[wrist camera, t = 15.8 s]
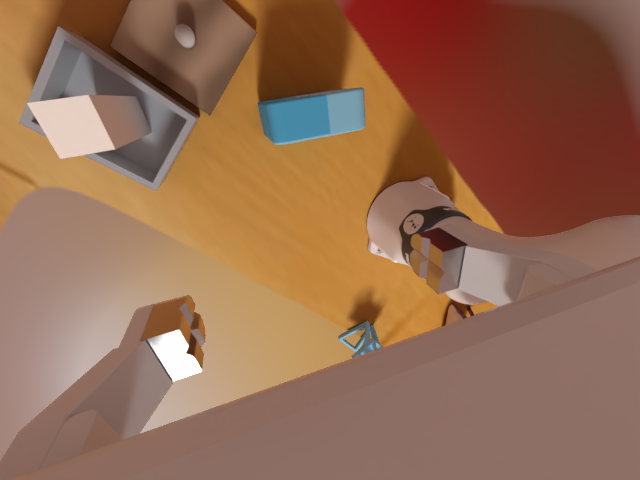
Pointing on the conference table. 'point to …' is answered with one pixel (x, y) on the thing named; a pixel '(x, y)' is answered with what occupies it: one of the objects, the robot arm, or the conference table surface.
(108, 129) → the strut
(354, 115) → the data package
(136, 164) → the bin
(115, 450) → the robot arm
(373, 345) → the light blue frame stand
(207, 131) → the conference table surface
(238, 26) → the stud plate
